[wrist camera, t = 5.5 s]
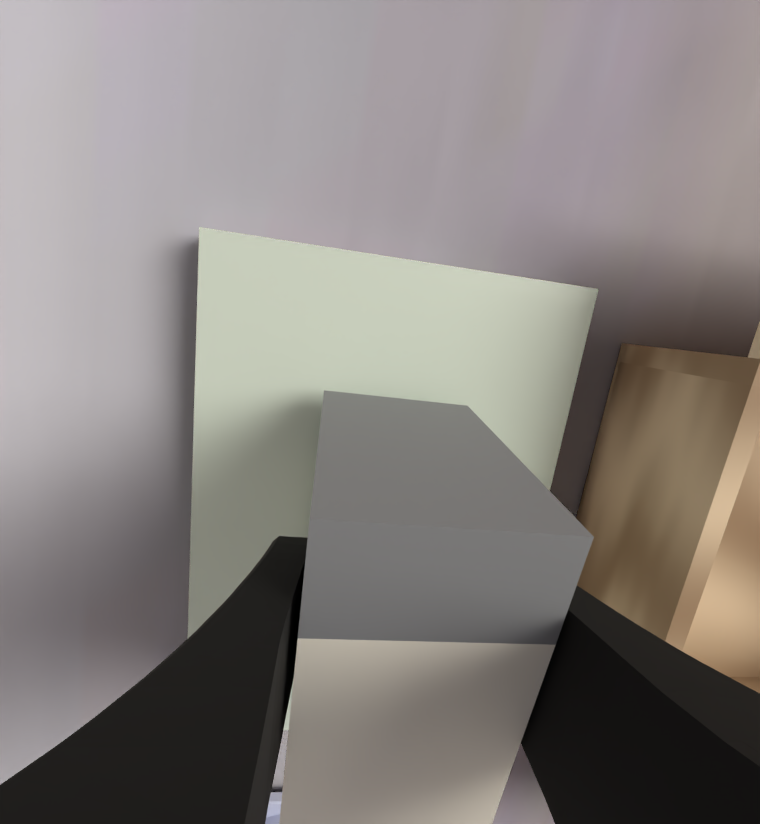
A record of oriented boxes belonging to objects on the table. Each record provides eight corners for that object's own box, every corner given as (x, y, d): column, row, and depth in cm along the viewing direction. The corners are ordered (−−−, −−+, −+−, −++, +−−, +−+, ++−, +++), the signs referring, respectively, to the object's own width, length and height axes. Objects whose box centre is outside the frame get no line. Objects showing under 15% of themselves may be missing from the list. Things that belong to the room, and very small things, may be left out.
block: (419, 628, 14) (475, 870, 8) (300, 624, 13) (273, 882, 8) (467, 405, 11) (594, 536, 6) (324, 390, 11) (309, 518, 5)
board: (483, 704, 16) (492, 728, 15) (194, 703, 15) (185, 730, 14) (578, 290, 13) (598, 289, 12) (210, 234, 11) (199, 226, 10)
